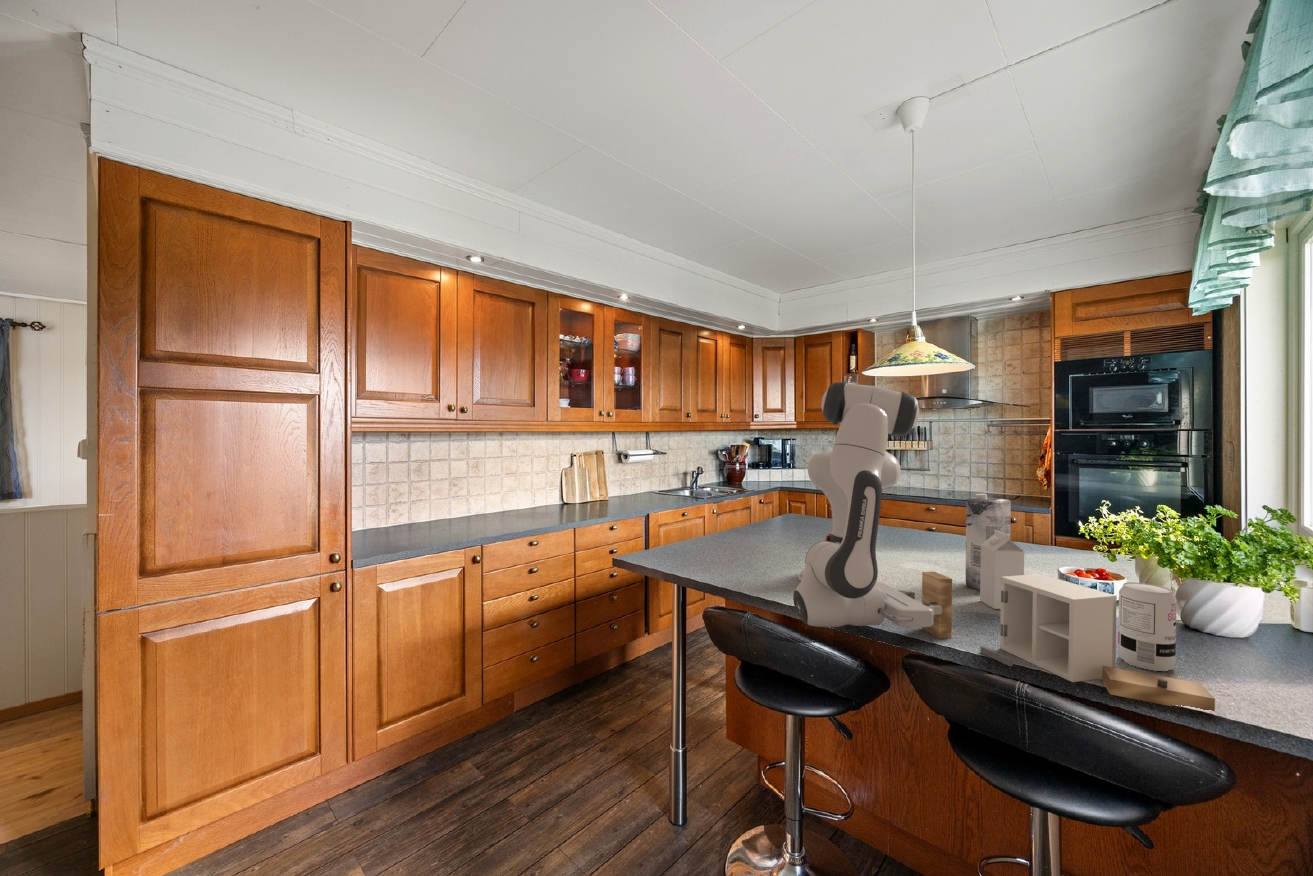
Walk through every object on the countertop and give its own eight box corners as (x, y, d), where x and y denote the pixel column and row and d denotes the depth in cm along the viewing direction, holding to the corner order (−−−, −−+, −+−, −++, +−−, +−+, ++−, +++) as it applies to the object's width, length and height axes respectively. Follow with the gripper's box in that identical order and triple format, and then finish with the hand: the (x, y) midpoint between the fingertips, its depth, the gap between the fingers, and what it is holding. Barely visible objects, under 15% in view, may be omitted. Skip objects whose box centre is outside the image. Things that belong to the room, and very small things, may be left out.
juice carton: (1013, 589, 152) (1015, 495, 151) (991, 595, 147) (993, 497, 146) (982, 581, 160) (983, 491, 159) (960, 586, 155) (961, 493, 154)
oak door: (934, 638, 116) (935, 579, 116) (917, 628, 122) (918, 572, 122) (951, 638, 116) (952, 578, 116) (933, 627, 122) (934, 571, 122)
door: (1109, 696, 92) (1110, 673, 92) (1102, 682, 97) (1102, 660, 97) (1214, 717, 85) (1215, 692, 85) (1200, 700, 90) (1200, 677, 90)
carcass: (1048, 685, 95) (1049, 601, 95) (977, 650, 110) (978, 578, 109) (1115, 676, 98) (1116, 595, 98) (1037, 643, 113) (1038, 573, 113)
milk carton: (1007, 601, 141) (1009, 530, 141) (1023, 610, 134) (1024, 535, 134) (979, 600, 142) (980, 529, 141) (993, 609, 135) (995, 535, 134)
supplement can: (1110, 652, 109) (1111, 579, 109) (1162, 659, 106) (1163, 584, 106) (1128, 669, 101) (1130, 590, 101) (1184, 676, 98) (1186, 596, 98)
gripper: (894, 605, 107) (958, 603, 108) (846, 577, 127) (900, 575, 129) (894, 636, 107) (957, 633, 109) (845, 603, 127) (899, 601, 129)
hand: (926, 601), depth 119 cm, fingers open, 8 cm apart
